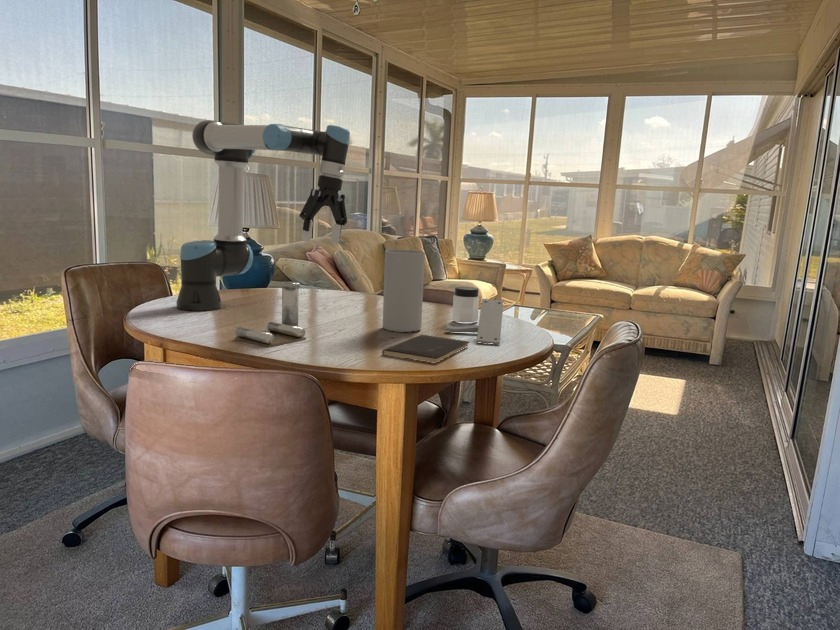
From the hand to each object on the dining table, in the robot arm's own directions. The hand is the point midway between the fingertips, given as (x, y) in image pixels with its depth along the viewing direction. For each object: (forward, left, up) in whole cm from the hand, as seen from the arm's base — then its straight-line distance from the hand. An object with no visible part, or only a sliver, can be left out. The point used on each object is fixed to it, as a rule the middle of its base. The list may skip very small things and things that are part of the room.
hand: (320, 242), depth 204 cm
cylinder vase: (+25, +12, -26) cm, 38 cm away
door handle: (+48, +18, -27) cm, 58 cm away
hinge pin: (-1, -12, -26) cm, 29 cm away
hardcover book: (+48, -7, -27) cm, 56 cm away
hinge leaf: (+8, -28, -26) cm, 39 cm away
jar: (+33, +38, -26) cm, 57 cm away
